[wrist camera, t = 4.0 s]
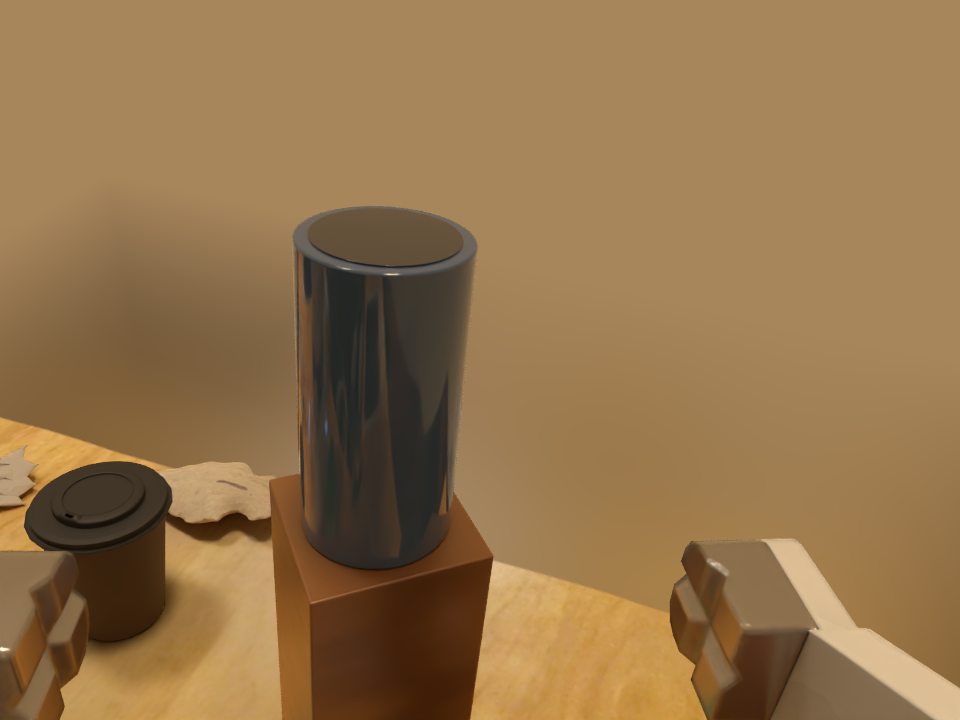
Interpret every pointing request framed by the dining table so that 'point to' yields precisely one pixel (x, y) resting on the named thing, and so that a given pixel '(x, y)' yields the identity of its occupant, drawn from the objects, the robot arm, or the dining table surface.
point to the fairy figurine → (14, 477)
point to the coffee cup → (109, 541)
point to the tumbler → (379, 379)
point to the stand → (377, 624)
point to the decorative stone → (217, 492)
